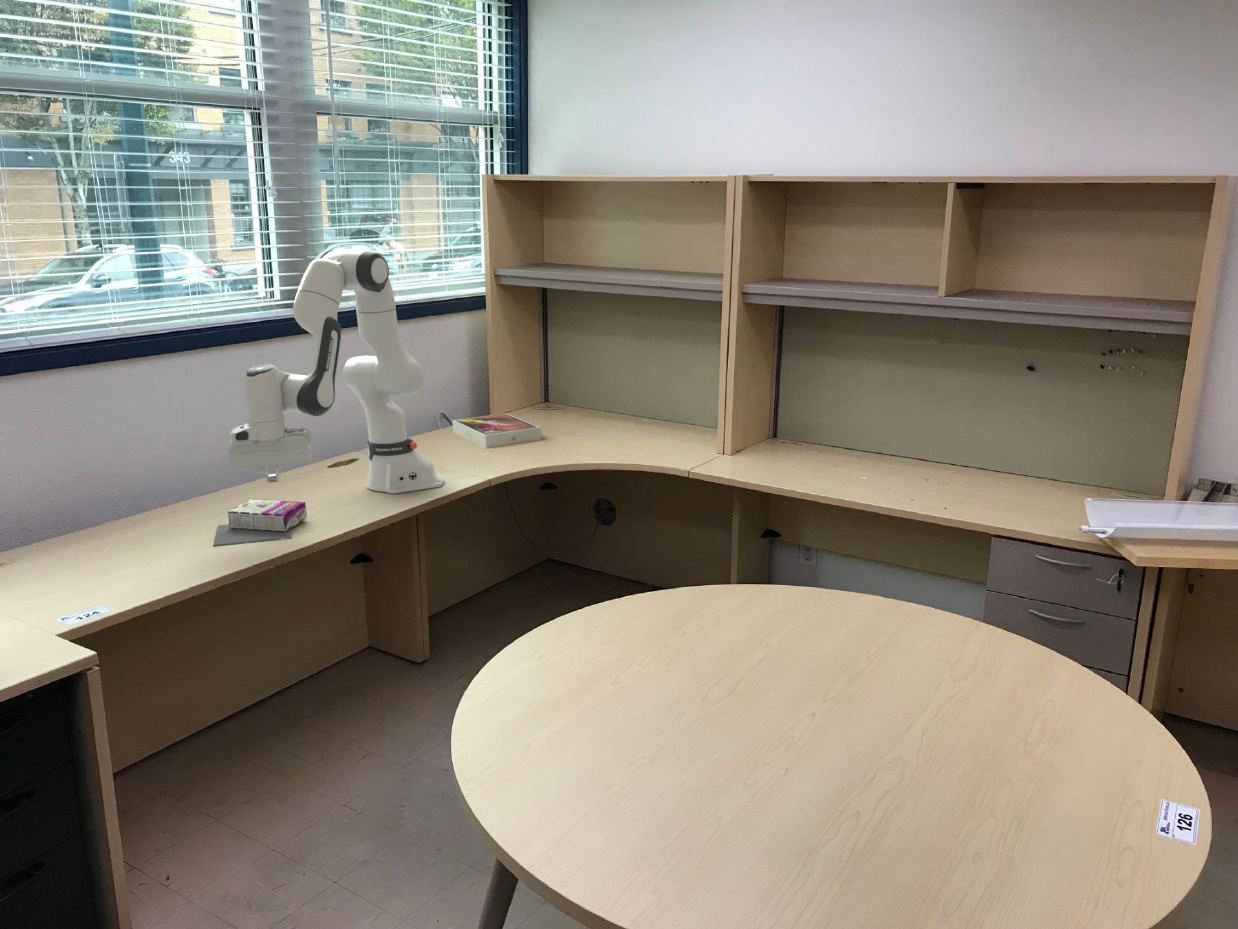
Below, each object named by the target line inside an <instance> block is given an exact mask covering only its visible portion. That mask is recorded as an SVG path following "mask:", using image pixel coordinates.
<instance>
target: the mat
mask: <svg viewBox="0 0 1238 929" xmlns="http://www.w3.org/2000/svg"><path fill="white" fill-rule="evenodd" d="M281 538H289V539H292V528H290V529H289V530H287V531H285V532H283V531H268V530H254V529H238V528H230V526H229V523H228V524H227V523H226V524H218V525H217V528H216V532H215V537H214V539H213V540H214V541H213V545H212V547H220V546H219V545H221V546H229V545H230V544H231V545H240V544H239V543H241V544H246V543H245V542H250V543H258V541H260V542H266V541H265V540H270V541H276V540H275V539H279V540H282V539H281Z"/></svg>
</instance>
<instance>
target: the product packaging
mask: <svg viewBox="0 0 1238 929" xmlns="http://www.w3.org/2000/svg"><path fill="white" fill-rule="evenodd" d="M452 432H453V433H454V432H455V433H454V434H456V435H458V434H459V435H458V436H460V437H462V438H464V437H465V438H464V439H467V440H468V439H469V440H468V441H470V442H472V441H473V443H474V444H476V443H477V445H478V444H479V446H480V447H483V448H485V449H489V448H495V447H501V445H503V446H508V445H509V444H510V445H514V443H516V444H521V443H528V441H529V442H536V441H541V440H542V428H541V426H538V425H536V424H533V423H530V422H528V421H526V420H523V419H520V418H518V417H515V416H514V415H510V414H509V413H506V412H505V413H499V414H490V415H484V416H483V415H481V416H475V417H469V418H460V419H453V420H452Z"/></svg>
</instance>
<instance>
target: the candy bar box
mask: <svg viewBox="0 0 1238 929" xmlns="http://www.w3.org/2000/svg"><path fill="white" fill-rule="evenodd" d="M227 517H228V524H229V526H230V528H238V529H254V530H268V531H283V532H285V531H287V530H289V529H290V528H291V529H292V528H293V527H295V526H297V525H298V524H300V523H301V522H303V521H305V520H306V519H307V517H308V514H307V507H306V502H305V501H291V500H277V499H275V500H274V499H260V498H259V499H256V498H250V499H249V500H246V501H245V502H243V503H241V504H239V505H237V506H235V507H234V508H232V509H229V510H228V511H227Z"/></svg>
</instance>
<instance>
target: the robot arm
mask: <svg viewBox="0 0 1238 929" xmlns="http://www.w3.org/2000/svg"><path fill="white" fill-rule="evenodd" d="M389 275H390V269H389V264H388V261H387V259H386V258H385V257H384V255H383V254H381V253H380V252H377V251H374V250H369V249H367V250H363V249H357V248H356V249H355V248H348V249H339V250H338V249H337V250H335V249H330V250H324V251H322V252H321V253H319V254H318V255H317V256H316V258H315V259H314V260H312V261H311V262H309V265H308V267H307V269H306V270H305V272H304V274H303V277H302V278H301V281H300V284H299V286H298V289H297V291H296V294H295V297H294V298H295V299H294V302H293V308H292V314H293V317H294V319H295V321H296V322H297V324H298V325H299V326H300V327H301V328H302V329H304V330H305V331H307V332H308V333H309V334H311V335H312V336H313V337H314V339H315V343H316V346H315V353H314V359H313V365H312V370H311V372H310V374H308V375H305V374H304V375H303V374H297V373H291V372H287V371H282V370H280V369H279V368H277V367H276V366H275V365H273V364H260V365H255V366H253V367H251V368H249V369H247V370H246V372H245V375H244V380H243V392H244V402H245V405H246V408H247V416H246V417H247V418H246V420H247V423H244V424H242V425H239V426H237V427H234V428H233V429H231V431H230V433H229V434H230V435H229V436H230V441H229V444H228V449H227V466H228V467H229V468H230V469H232V470H236V469H237V470H239V469H249V468H251V469H252V468H260V472H261V473H262V474H263V475H264V476H265V477H266V478H265V479H266V483H267V484H268V483H279V481H280V479H279V476H280V474H281V471H282V469H283V465H284V466H285V465H295V464H306V463H309V462H311V460H312V451H311V446H310V443H311V441H312V437H311V436H312V434H311V431H310V430H309V429H307V428H304V427H303V426H299V427H286V422H285V421H286V420H285V414H284V412H285V411H289V412H294V413H302V414H306V415H310V416H314V417H320V416H323V415H325V414H326V413H327V412H328V411H329V410H330V409H331V408H332V406H333V404H334V402H335V399H336V397H335V396H336V386H335V384H336V375H337V368H338V361H339V353H340V347H341V342H342V340H341V339H342V328H341V324H340V322H339V321H338V312H339V308H340V304H341V300H342V296H343V291H353V293H354V294H355V295H354V296H355V310H356V311H355V312H356V319H357V327H358V335H359V338H360V340H361V341H362V342H363V343H364V344H366V345H367V346H368V347H369V348H371V350H372V351H373V353H374V355H360V356H354V357H353V356H352V357H351V358H349V359H347V361H346V363H344V366H343V370H342V377H343V381H344V383H345V385H346V386H347V387H348V388H349V389H350V390H352V391H353V393H354V394H355V395H356V397H357V398H358V400H359V402H360V404H361V406H362V408H363V410H364V413H365V417H366V423H367V433H368V440H367V455H368V456H367V457H368V460H369V467H368V468H369V471H368V479H367V484H366V488H367V489H369V490H371V491H376V492H383V493H384V492H385V493H387V494H400V493H406V492H412V491H419V490H426V489H433V488H440V487H442V485H443V484H444V479H443V477H442V475H441V474H439V473H437V472H436V469H435V467H434V464H433V462H432V460H430V459H429V458H428V457H426V456H425V455H424V454H422V453H420V452H418V451H417V450H416V449H417V448H418V444H417V442H416V441H414V439H412V438H410V437H408V436H407V434H408V433H407V432H408V431H407V419H406V417H407V416H406V414H405V412H404V410H403V409H402V408H401V407H399V406H398V405H397V404H396V403H395V402H394V401H393V399H392V397H391V396H409V395H415V394H417V393H419V392H420V391H421V389H422V387H424V384H425V377H426V376H425V371H424V369H423V367H422V365H421V364H420V362H418V361H417V360H416V359H415V358H414V357H413V356H412V355H411V354H410V353H409V351H408V349H407V348H406V347H405V344H404V342H403V340H402V338H401V334H400V329H399V324H398V317H397V310H396V308H397V307H396V301H395V295H394V291H393V286H392V284H391V281H390V277H389ZM272 466H275V469H276V472H275V473H272V474H271V473H270V474H269V473H268V471H267V470H268V468H267V467H272Z"/></svg>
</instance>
